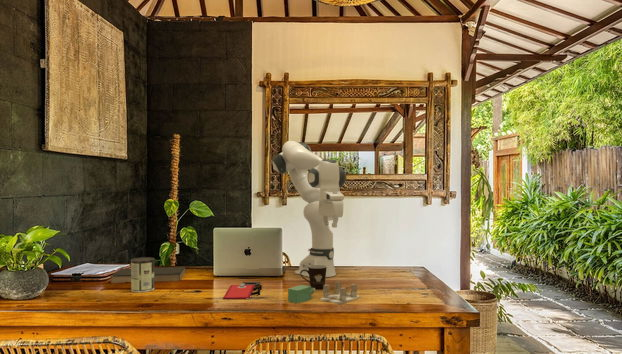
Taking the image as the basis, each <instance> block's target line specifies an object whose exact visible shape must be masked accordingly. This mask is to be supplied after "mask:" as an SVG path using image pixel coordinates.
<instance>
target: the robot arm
mask: <svg viewBox="0 0 622 354" xmlns="http://www.w3.org/2000/svg"><path fill="white" fill-rule="evenodd" d="M281 151H282V152H280V153H279V154H276V155H275V156H274V157H273V158H272V167H273V169H274V170H275V172H277V173H278V174H280V175H283V174H286V173H288V176H289V178H290V181H291V183H292V184H293V187H294V188H295V189H296V191H297V193H298V195H300V197H301V199H302V200H303V201H304V202H306V203H307V204H306V205H305V206H304V208H303V213H302V214H303V216H304V218H305V219H306V221H307V222H308V224H309V227H310V230H311V248H308V249H307V252H309V254H308V255H307V256H306V257H304V258H303V259H302V260H301V261H300V262H299V265H298V266H299V267H298V269H296V270H295V271H294V274H297V275H300V272H301V271H302V270H304V269H305V270H308V271H309V269H308V266H311V265H324V266H327V269H326V278H328V277H329V278H330V277H335V276H337V273H336V269H335V263H334V256H335V255H334V254H335V249H334V233H333V231H332V230H331V229H330V225H329V222H330V221H331V222H332V223H331V227H332V228H334V229H335V228H337V227H338V222H339V218H342V217H344V216H343V215H344V199H345V196H344V194H343V193H342V191H340V190H341V188H342V187H343V186H344V185H345V184H346V182H347V174H346V171H345V170H344V169H343V168H342V167H341V166H339V163H338V161H337V160H336V159H330V158H329V159H328V158H325V159H324V158H323V157H321V156H320V155H317V154H315V153H314V152H312V150H311V147H310V146H309V145H308V144H307V143H306V142H298V141H295V140H288V141H286V142H285V143H284V144H283V145H282V148H281ZM301 275H302V276H303V277H308V278H309V274H308V272H307V271H303V272H302V273H301ZM301 275H300V276H301Z"/></svg>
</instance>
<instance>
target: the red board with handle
mask: <svg viewBox="0 0 622 354" xmlns="http://www.w3.org/2000/svg"><path fill="white" fill-rule="evenodd" d="M260 283H261V281H247V282H246V281H243V282H242V283H240V284H231V285H230V286H229V287H228V289H227V290H226V292H225V294H224V296H223V297H222V300H247V299H246V298H250V299H251V297H252V296H255V295H257V296H258V295H260V296H261V291H260V290H263V289H262V287H263V285H262V284H260ZM253 290H254V291H253ZM250 296H251V297H250Z"/></svg>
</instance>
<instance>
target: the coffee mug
mask: <svg viewBox="0 0 622 354" xmlns="http://www.w3.org/2000/svg"><path fill="white" fill-rule="evenodd" d="M308 269H309V271H308V270H305V269H304V270H302V271H301V272H300V274H299V275H300V277H301V278H302V279H303V280H305V281H306V282H308V283H309V286H311V288H315V291H318V290H319V291H321V290H323V285H326V278H327V277H326V269H327V266H324V265H311V266H308ZM303 271H307V272H308V274H309V277H308V278H309V280H308V279H307V278H305V276H304V275H301V273H302V272H303Z"/></svg>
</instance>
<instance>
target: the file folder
mask: <svg viewBox="0 0 622 354" xmlns="http://www.w3.org/2000/svg"><path fill="white" fill-rule="evenodd" d="M186 269H187V268H186V266H175V267H174V266H173V267H172V266H171V267H170V266H169V267H167V266H166V267H154V283H155V282H180V281H182V278H183V277H184V275H185V273H186ZM125 282H131V267H130V268H127V267H126V268H120V269H119V270H117V271H115V272H114V273H113V274H112V275H111V276H110V282H109V283H110V284H121V283H123V284H124V283H125ZM125 284H126V283H125Z"/></svg>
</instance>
